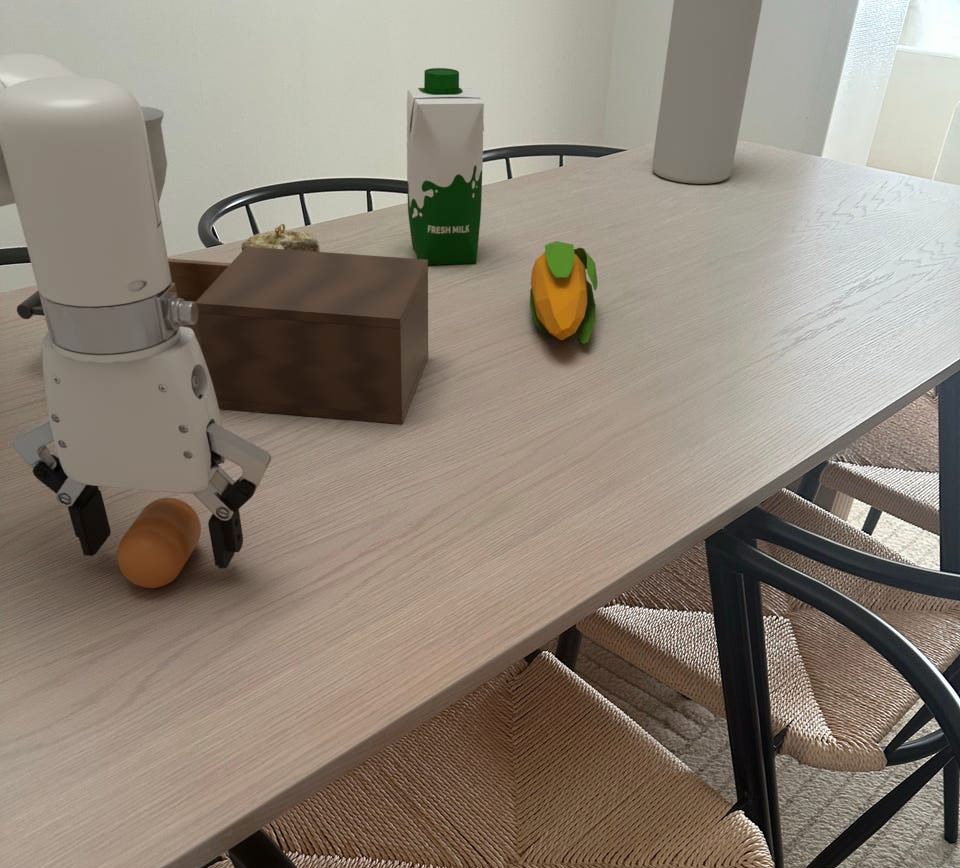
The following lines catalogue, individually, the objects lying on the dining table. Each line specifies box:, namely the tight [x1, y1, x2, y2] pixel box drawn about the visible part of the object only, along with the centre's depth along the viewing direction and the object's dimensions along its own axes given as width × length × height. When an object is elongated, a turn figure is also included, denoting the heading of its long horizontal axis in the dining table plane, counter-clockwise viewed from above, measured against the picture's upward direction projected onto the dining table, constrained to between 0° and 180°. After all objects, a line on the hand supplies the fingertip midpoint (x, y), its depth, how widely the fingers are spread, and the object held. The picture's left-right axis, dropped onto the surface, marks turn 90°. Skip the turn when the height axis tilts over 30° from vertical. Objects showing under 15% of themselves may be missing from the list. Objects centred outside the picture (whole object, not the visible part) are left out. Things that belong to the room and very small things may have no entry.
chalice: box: [140, 105, 168, 204], centre depth 107 cm, size 7×7×18 cm
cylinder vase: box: [651, 0, 763, 185], centre depth 149 cm, size 12×12×25 cm
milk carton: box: [406, 67, 485, 266], centre depth 118 cm, size 9×9×20 cm
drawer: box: [16, 258, 232, 351], centre depth 94 cm, size 22×14×8 cm, turn 83°
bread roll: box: [116, 497, 202, 589], centre depth 70 cm, size 8×4×4 cm, turn 173°
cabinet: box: [196, 247, 429, 425], centre depth 92 cm, size 18×15×10 cm
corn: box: [529, 240, 598, 344], centre depth 105 cm, size 7×8×20 cm
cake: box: [240, 223, 321, 252], centre depth 117 cm, size 10×10×5 cm
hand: (162, 551), depth 70 cm, fingers open, 9 cm apart
